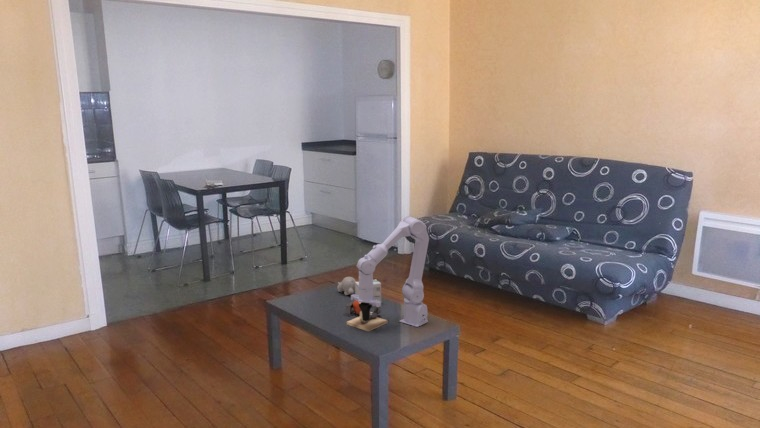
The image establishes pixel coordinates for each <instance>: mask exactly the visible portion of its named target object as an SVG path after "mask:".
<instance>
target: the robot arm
mask: <svg viewBox="0 0 760 428" xmlns="http://www.w3.org/2000/svg"><path fill="white" fill-rule="evenodd" d="M427 228H428V227H427V225H426V224H425V223H424V221H422V220H421V219H417V218H415V217H413V216H410V215H408V216H406V217H405V216H404V218H403V220H401V221H399V222H398V224H397V227H395V229H394V230H393V231H392V232H391V233H390V234H389V235H388V236H387V238H385V240H384V241H383V242H382V243H377V244H374V245H373V246H372V249H371V250H369V251H368V253H367V254H364V256H363V257H360V258H359V259H358V260H357V264H356V268H357V269H358V282H359V295H356V294H355V293H353V294H350V300H351V301H355V300H357V301H358V302H360V303H361V304H359V307H360V309H361V311H362V319H363V320H364V321H367V320H369V312H370V311H371V308H372V305H375V306H376V307H380V306H381V307H382V300H381V301H379V300H377V299H375V298H373V280H374V272H375V271H376V266H378V264H380V263H381V261H382V260H383V259H384V258H385V257H386V256H387V255H388V253H389V252H388V251H389V249H390V248H391V247H392V246H394V245H395V244H396V243H397V242H399V240H401V239H402V238H404V237H412V238H413V239H414V242H415V243H414V246H413V252H412V258H411V263H410V270H409V273H408V278H406V280H405V283H404V284H403V286H402V288H401V293H402V295H403V297H404V299H403V318H401V319H400V320H399V323H402V324H406V325H409V326H413V327H415V328H417V327H420V326H422V325H425V324H427V323H429V320H428V306H427V304H426V303H424V302H423V300H424V298H425V293H424V283H423V281H422V279H423V276H424V275H423V274H424V269H425V263H426V260H427V259H426V258H427V252H428V247H429V241H430V237H429V236H430V235H429V233H428V230H427Z"/></svg>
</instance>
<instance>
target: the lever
mask: <svg viewBox="0 0 760 428" xmlns="http://www.w3.org/2000/svg"><path fill="white" fill-rule="evenodd" d="M381 307H382V305H381V306H380V307H376V306H373V311H371V310H370V311H369V320H370V319H374V318H376V317H377V315H379V314H380V313H381ZM359 316H360V321H361V323H362V324H365V323H366V322H368V321H369V320H367V321H364V320H363V319H362V311H360V315H359Z"/></svg>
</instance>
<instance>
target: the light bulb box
mask: <svg viewBox="0 0 760 428" xmlns="http://www.w3.org/2000/svg"><path fill="white" fill-rule="evenodd" d="M354 294H356V295H359V281H356V282H355V293H354ZM373 298H375V299H377V300H379V301H381V302H382V283H381V282H380V281H379V280H377V279H373ZM374 306H375V305H372V307H373V308H374ZM372 307H371V308H372Z"/></svg>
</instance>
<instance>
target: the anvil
mask: <svg viewBox="0 0 760 428" xmlns="http://www.w3.org/2000/svg"><path fill="white" fill-rule="evenodd" d="M353 302H354V301H353V300H351V301H349V302H348V303H347V304H346V305H345V311H344V313H343V316H344V317H351V316H352V315H354V313H356V312H355V311H354V309H353Z"/></svg>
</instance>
